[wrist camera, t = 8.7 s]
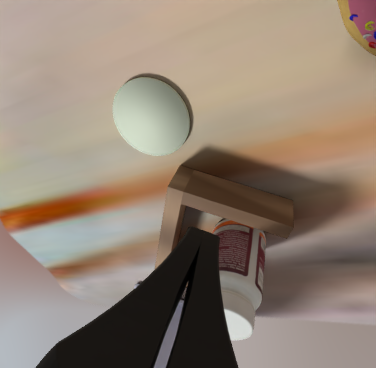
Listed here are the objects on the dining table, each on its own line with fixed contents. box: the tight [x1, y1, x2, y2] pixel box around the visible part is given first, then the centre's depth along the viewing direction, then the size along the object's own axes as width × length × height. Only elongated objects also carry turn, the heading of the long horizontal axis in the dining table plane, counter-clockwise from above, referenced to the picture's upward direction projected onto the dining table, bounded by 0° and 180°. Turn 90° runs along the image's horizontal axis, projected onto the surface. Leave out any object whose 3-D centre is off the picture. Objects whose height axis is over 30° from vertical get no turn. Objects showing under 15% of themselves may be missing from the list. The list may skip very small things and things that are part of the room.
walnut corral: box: [155, 165, 294, 288], centre depth 24 cm, size 11×9×3 cm
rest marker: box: [113, 77, 190, 156], centre depth 21 cm, size 6×6×1 cm
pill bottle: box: [212, 219, 266, 340], centre depth 22 cm, size 5×5×8 cm
